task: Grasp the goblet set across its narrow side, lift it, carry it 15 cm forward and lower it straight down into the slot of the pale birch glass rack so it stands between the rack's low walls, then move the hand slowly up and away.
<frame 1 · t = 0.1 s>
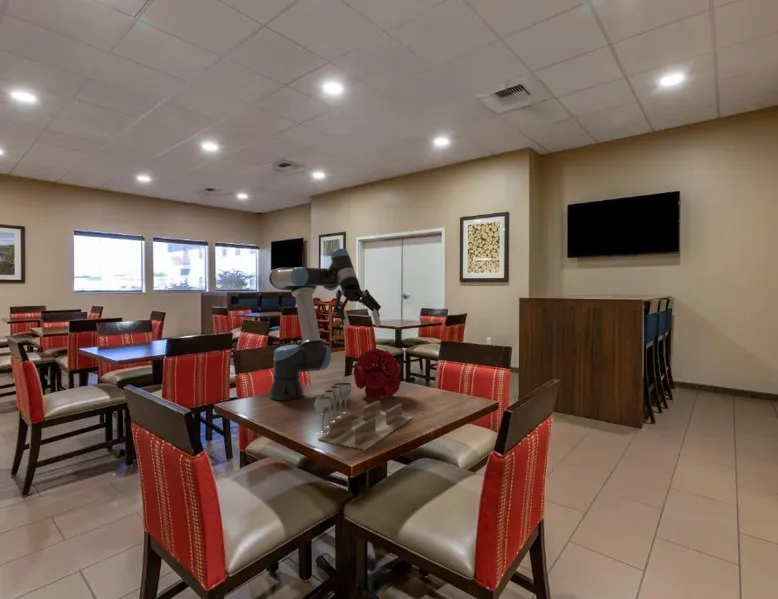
hand: (363, 326, 156), 36 cm above the table, tool tilted 35°, fingers open, 13 cm apart
glass rack: (369, 428, 145), on the table
bouquet: (378, 396, 190), on the table
goblet set: (334, 422, 152), on the table
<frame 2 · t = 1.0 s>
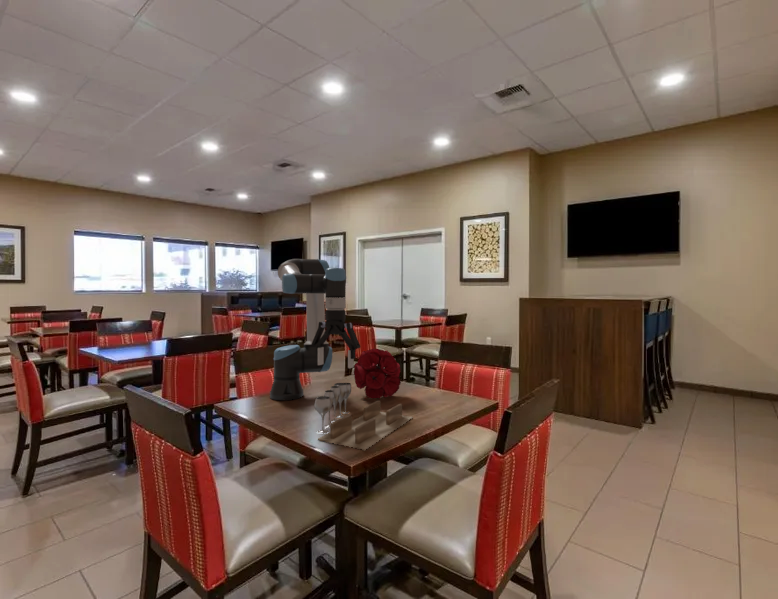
hand: (335, 366, 152), 21 cm above the table, tool pointing down, fingers open, 13 cm apart
nothing on the table moved.
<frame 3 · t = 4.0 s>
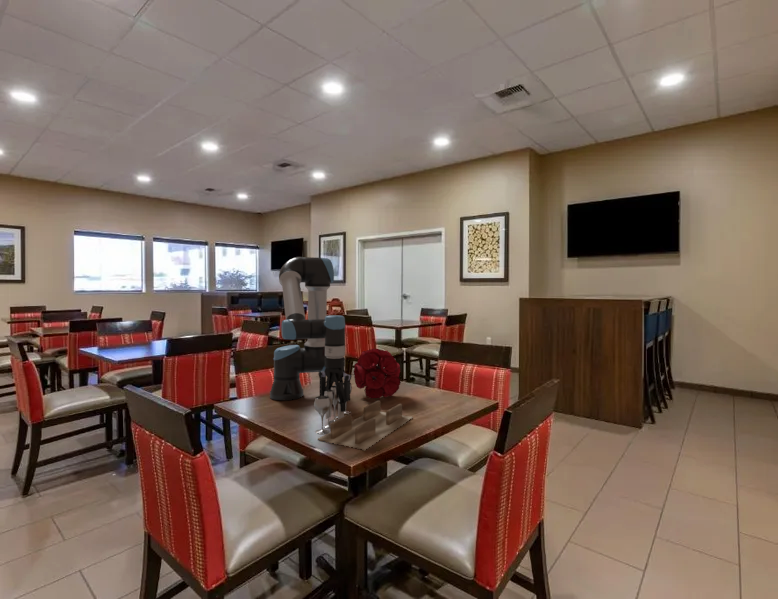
hand: (334, 418, 152), 1 cm above the table, tool pointing down, fingers closed on goblet set, 5 cm apart
goblet set: (334, 422, 152), on the table, touching gripper
everything else where it was.
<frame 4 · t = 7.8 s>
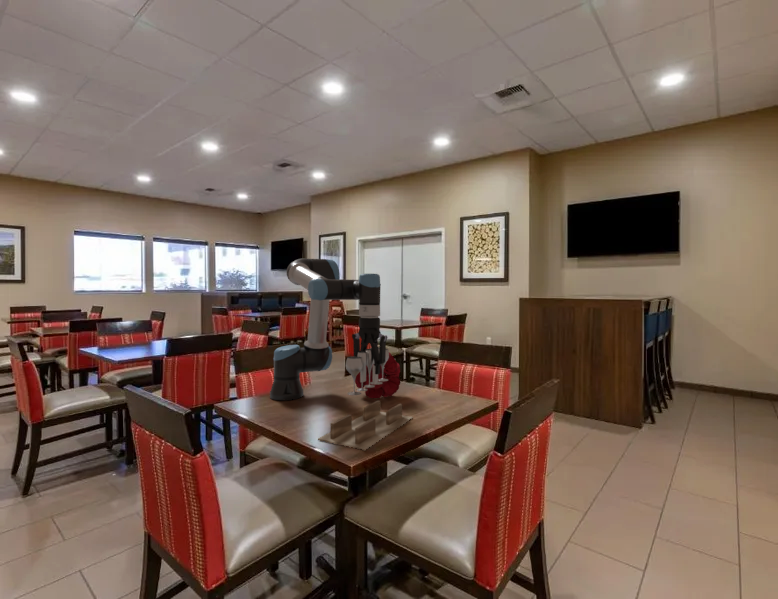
hand: (369, 382, 145), 17 cm above the table, tool pointing down, fingers closed on goblet set, 4 cm apart
goblet set: (369, 387, 145), point 15 cm above the table, touching gripper
everything else where it was.
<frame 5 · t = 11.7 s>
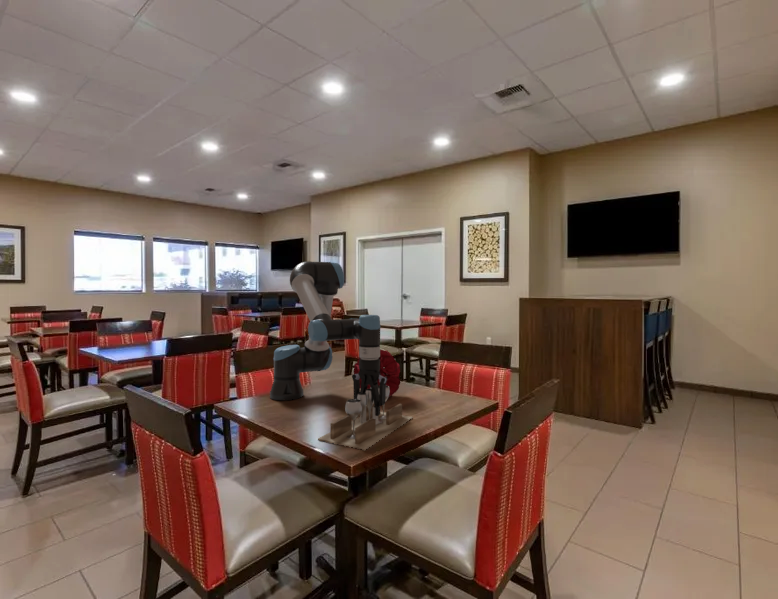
hand: (369, 423, 145), 2 cm above the table, tool pointing down, fingers closed on goblet set, 4 cm apart
goblet set: (369, 427, 145), resting on glass rack, touching gripper
everything else where it was.
when the fingers open (2 cm above the table, at t = 12.6 s): goblet set stays where it is, resting on glass rack.
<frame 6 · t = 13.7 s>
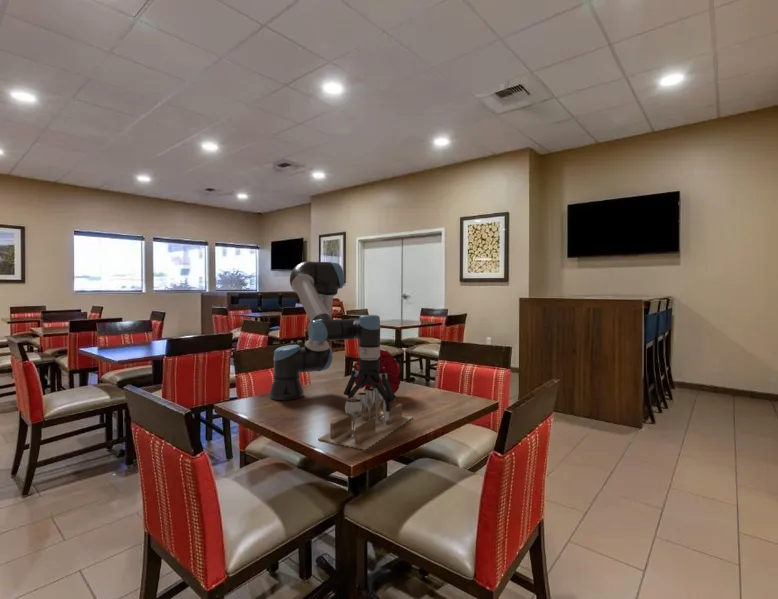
hand: (369, 417, 145), 4 cm above the table, tool pointing down, fingers open, 13 cm apart
goblet set: (369, 427, 145), resting on glass rack
everything else where it was.
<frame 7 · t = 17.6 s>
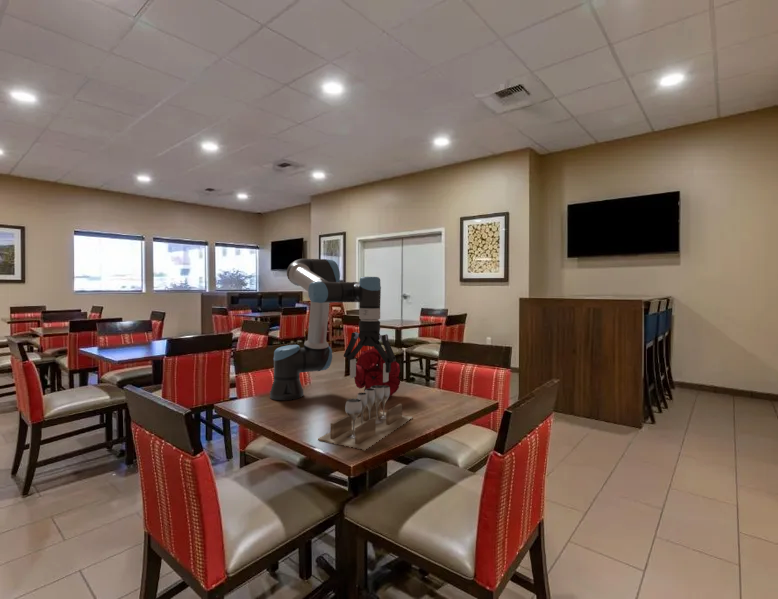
hand: (369, 379, 145), 18 cm above the table, tool pointing down, fingers open, 13 cm apart
nothing on the table moved.
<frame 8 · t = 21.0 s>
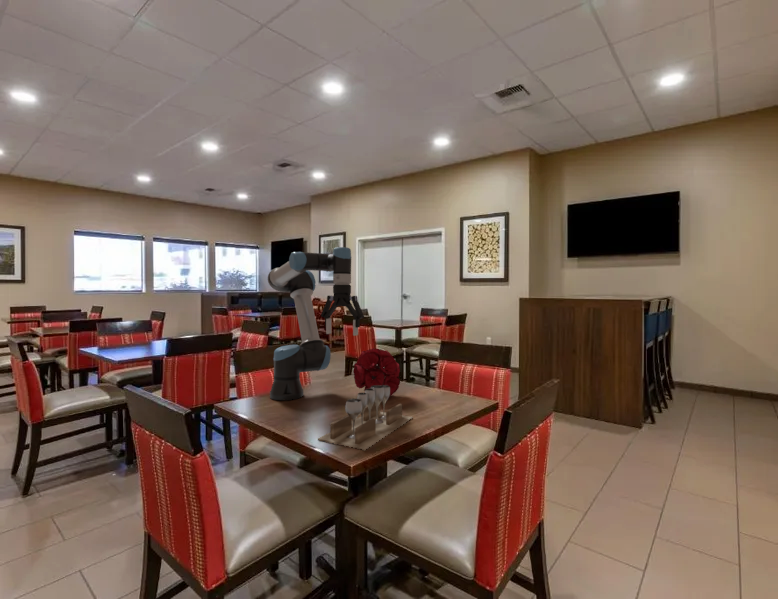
hand: (341, 334, 172), 31 cm above the table, tool pointing down, fingers open, 13 cm apart
nothing on the table moved.
at the end: goblet set inside the target area on the glass rack (0.4 cm from its centre), point 0.4 cm above the glass rack's base; goblet set tilted 0°; the gripper is holding nothing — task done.
